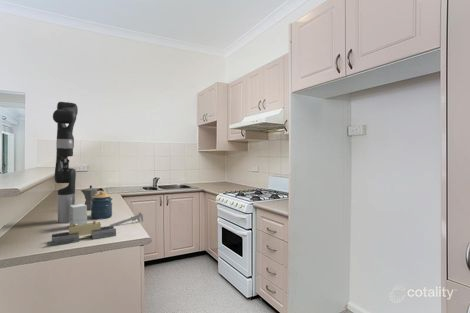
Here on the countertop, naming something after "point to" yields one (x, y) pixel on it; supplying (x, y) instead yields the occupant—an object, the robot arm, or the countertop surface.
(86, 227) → the chain link plate
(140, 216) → the caliper
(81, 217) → the supplement box
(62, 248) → the countertop surface
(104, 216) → the canister
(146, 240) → the countertop surface
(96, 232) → the metal brackets
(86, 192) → the coffeepot
